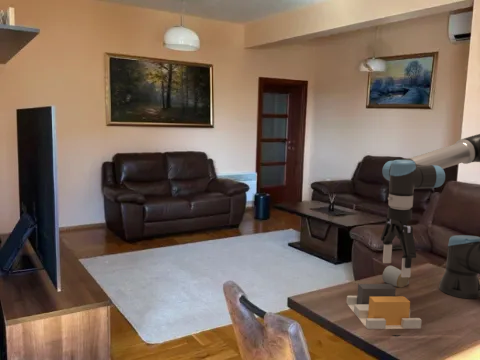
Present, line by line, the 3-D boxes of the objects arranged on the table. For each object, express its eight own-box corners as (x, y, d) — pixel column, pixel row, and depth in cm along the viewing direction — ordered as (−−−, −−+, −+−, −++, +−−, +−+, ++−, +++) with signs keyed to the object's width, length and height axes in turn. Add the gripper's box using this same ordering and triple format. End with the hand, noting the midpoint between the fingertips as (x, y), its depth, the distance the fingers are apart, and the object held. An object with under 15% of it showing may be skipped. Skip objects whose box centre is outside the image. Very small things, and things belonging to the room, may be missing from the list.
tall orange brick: (401, 318, 148) (403, 296, 147) (408, 325, 144) (410, 301, 143) (367, 319, 147) (369, 296, 146) (373, 325, 143) (374, 302, 142)
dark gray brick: (388, 304, 160) (390, 283, 159) (393, 310, 155) (395, 288, 154) (356, 305, 158) (358, 283, 157) (361, 310, 154) (362, 288, 153)
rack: (393, 305, 162) (394, 295, 161) (420, 331, 142) (421, 320, 142) (346, 305, 160) (346, 295, 160) (367, 331, 140) (368, 320, 140)
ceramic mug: (397, 290, 176) (399, 272, 175) (381, 284, 183) (382, 266, 182) (413, 286, 182) (415, 269, 181) (397, 280, 189) (399, 263, 188)
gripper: (373, 200, 155) (370, 257, 158) (407, 215, 131) (402, 283, 134) (393, 200, 156) (389, 257, 159) (431, 215, 131) (426, 283, 134)
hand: (395, 269), depth 146 cm, fingers open, 13 cm apart
